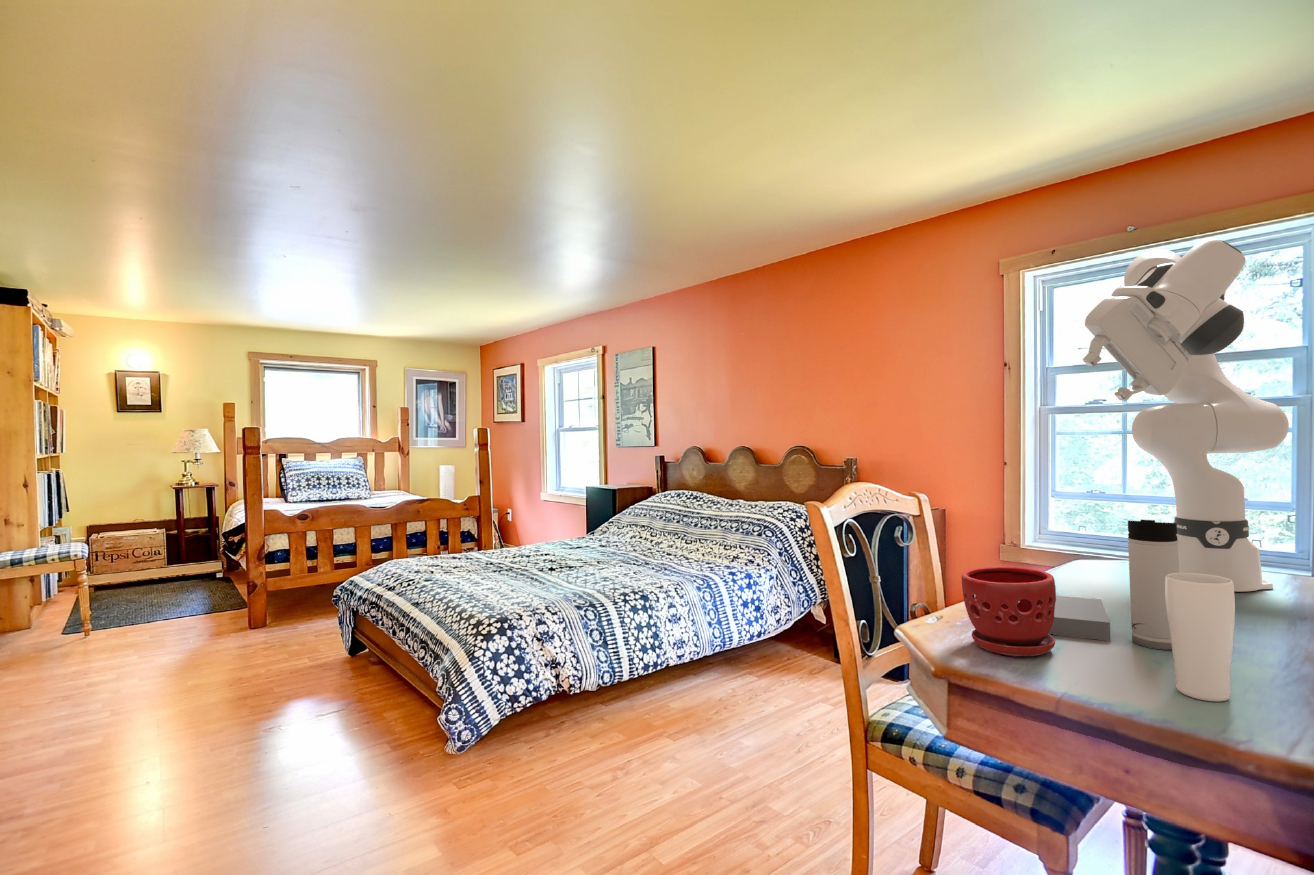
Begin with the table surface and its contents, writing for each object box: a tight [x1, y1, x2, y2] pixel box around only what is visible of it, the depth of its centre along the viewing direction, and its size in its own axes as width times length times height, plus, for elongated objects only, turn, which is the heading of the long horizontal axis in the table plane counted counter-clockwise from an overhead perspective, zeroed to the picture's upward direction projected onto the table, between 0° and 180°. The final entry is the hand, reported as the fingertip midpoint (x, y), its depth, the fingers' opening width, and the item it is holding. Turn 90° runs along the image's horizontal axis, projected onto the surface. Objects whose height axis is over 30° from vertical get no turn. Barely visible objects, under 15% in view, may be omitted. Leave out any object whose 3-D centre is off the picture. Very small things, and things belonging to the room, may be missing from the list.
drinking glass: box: [1165, 573, 1236, 703], centre depth 81 cm, size 7×7×15 cm
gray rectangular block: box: [1018, 595, 1112, 642], centre depth 113 cm, size 16×14×3 cm
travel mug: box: [1127, 519, 1179, 651], centre depth 100 cm, size 6×7×20 cm
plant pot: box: [960, 566, 1057, 658], centre depth 101 cm, size 13×13×12 cm
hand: (1104, 380), depth 111 cm, fingers open, 8 cm apart
